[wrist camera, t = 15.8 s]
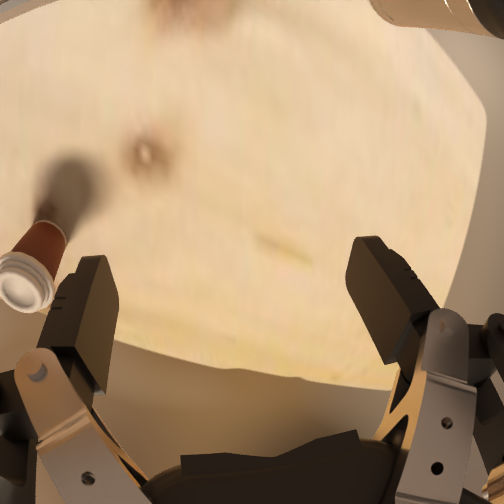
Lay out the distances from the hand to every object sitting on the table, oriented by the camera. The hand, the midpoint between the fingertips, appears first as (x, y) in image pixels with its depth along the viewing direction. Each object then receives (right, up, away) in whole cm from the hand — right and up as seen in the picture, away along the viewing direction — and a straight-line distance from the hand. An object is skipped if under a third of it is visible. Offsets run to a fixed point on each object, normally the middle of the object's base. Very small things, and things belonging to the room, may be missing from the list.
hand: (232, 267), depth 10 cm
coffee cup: (-29, +3, +30) cm, 43 cm away
